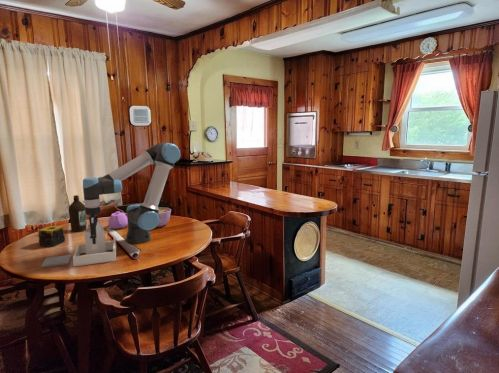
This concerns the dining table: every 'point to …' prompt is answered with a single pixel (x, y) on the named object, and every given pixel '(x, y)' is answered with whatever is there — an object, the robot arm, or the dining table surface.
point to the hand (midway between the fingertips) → (95, 246)
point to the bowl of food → (163, 216)
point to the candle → (51, 236)
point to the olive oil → (77, 215)
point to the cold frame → (94, 255)
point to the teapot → (118, 220)
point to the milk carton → (100, 240)
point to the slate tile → (56, 261)
